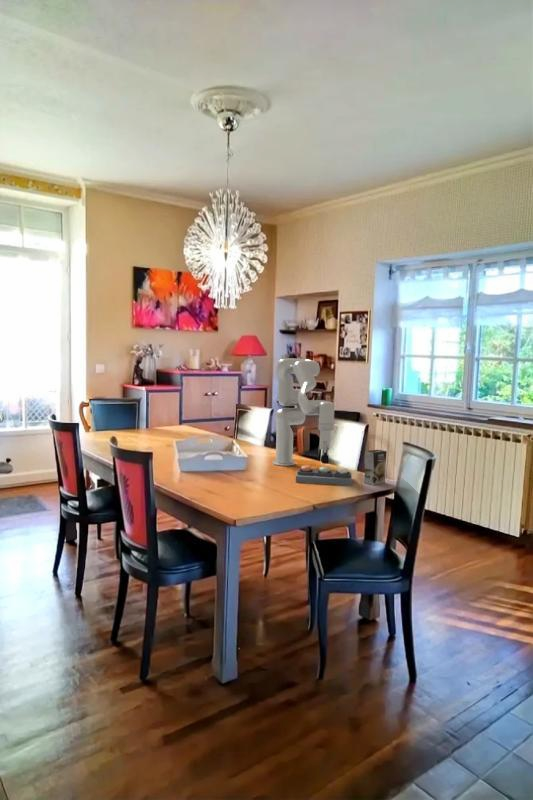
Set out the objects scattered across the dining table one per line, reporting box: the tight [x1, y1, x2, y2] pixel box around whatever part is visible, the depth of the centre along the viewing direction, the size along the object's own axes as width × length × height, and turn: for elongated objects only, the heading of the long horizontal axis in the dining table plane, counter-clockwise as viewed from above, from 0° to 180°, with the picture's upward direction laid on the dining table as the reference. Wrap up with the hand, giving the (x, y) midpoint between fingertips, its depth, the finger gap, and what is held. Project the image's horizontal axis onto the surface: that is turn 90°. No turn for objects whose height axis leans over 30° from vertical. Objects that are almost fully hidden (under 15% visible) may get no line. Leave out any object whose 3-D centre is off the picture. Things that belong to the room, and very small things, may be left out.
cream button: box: [336, 467, 349, 474], centre depth 264 cm, size 5×5×2 cm
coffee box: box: [363, 449, 387, 486], centre depth 263 cm, size 9×6×16 cm
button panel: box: [295, 468, 353, 486], centre depth 265 cm, size 14×27×4 cm, turn 81°
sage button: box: [318, 466, 330, 473], centre depth 265 cm, size 5×5×2 cm
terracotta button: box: [300, 465, 312, 472], centre depth 266 cm, size 5×5×2 cm
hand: (325, 463), depth 264 cm, fingers closed
